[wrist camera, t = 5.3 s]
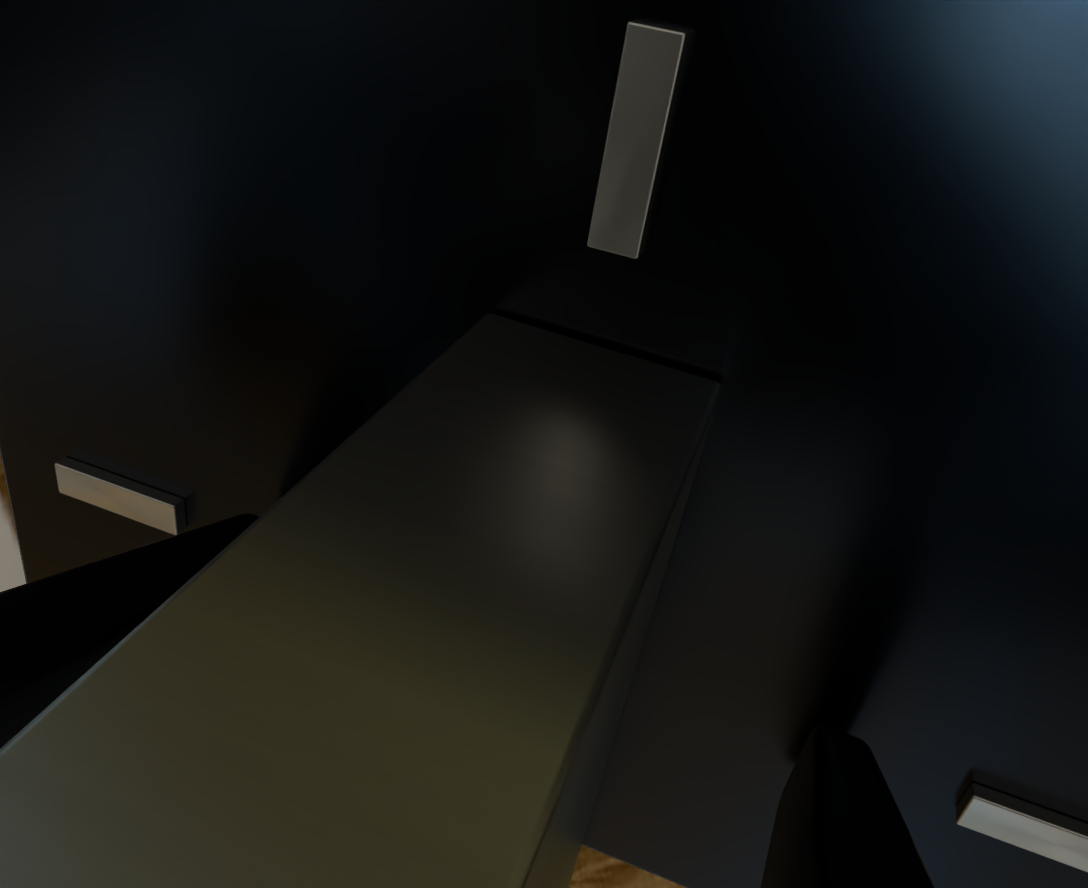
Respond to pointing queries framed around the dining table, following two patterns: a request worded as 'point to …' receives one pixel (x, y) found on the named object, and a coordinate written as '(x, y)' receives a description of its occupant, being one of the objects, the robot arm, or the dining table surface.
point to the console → (613, 344)
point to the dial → (387, 648)
